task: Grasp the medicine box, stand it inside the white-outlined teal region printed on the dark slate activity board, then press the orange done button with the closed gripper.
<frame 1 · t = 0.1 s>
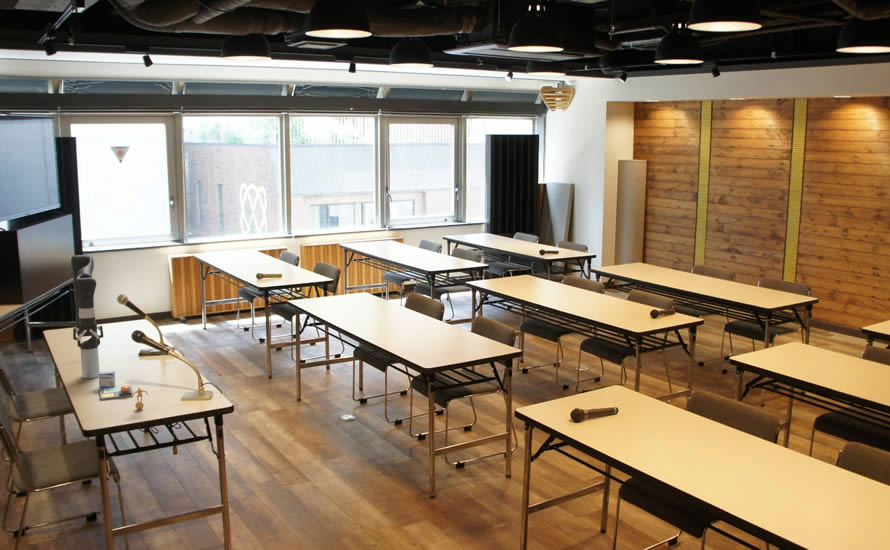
hand: (89, 346, 404), 29 cm above the table, fingers open, 8 cm apart
medicine box: (107, 387, 430), on the table
activity board: (116, 393, 420), on the table
done button: (125, 388, 417), point 4 cm above the table, slide at 0.0 cm
figurine: (140, 410, 396), on the table
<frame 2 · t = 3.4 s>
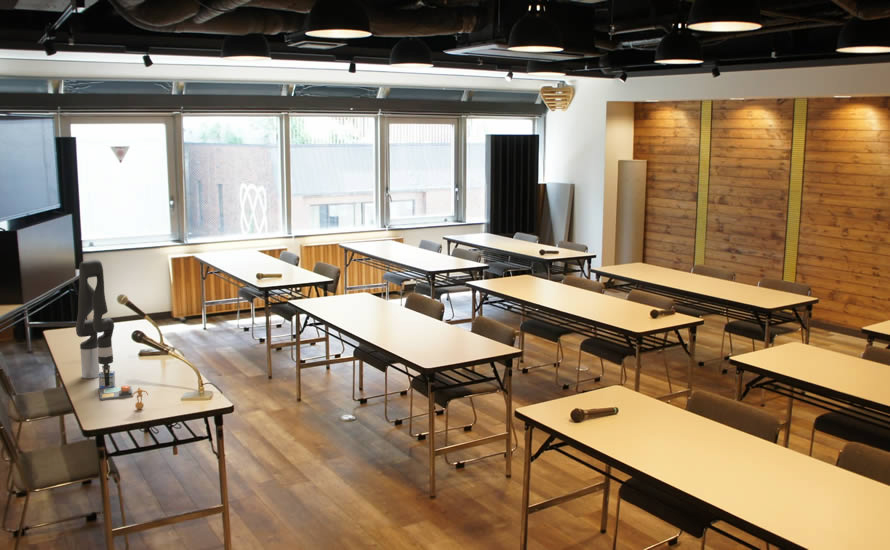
hand: (107, 384, 430), 2 cm above the table, fingers closed on medicine box, 5 cm apart
medicine box: (107, 387, 430), on the table, touching gripper
everything else where it was.
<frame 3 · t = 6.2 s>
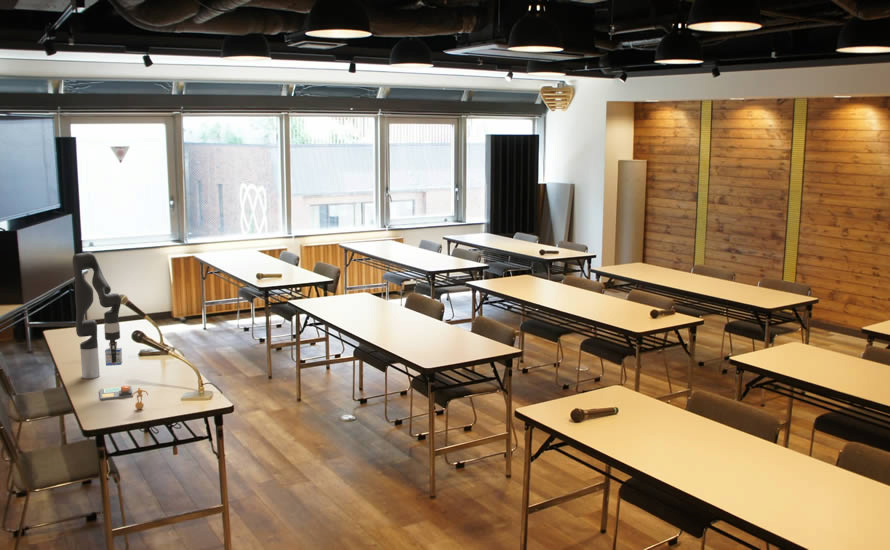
hand: (113, 360, 420), 17 cm above the table, fingers closed on medicine box, 5 cm apart
medicine box: (114, 364, 421), point 15 cm above the table, touching gripper
everything else where it was.
when the fingers open (4 cm above the table, at t = 9.0 s): medicine box drops 1 cm, resting on activity board.
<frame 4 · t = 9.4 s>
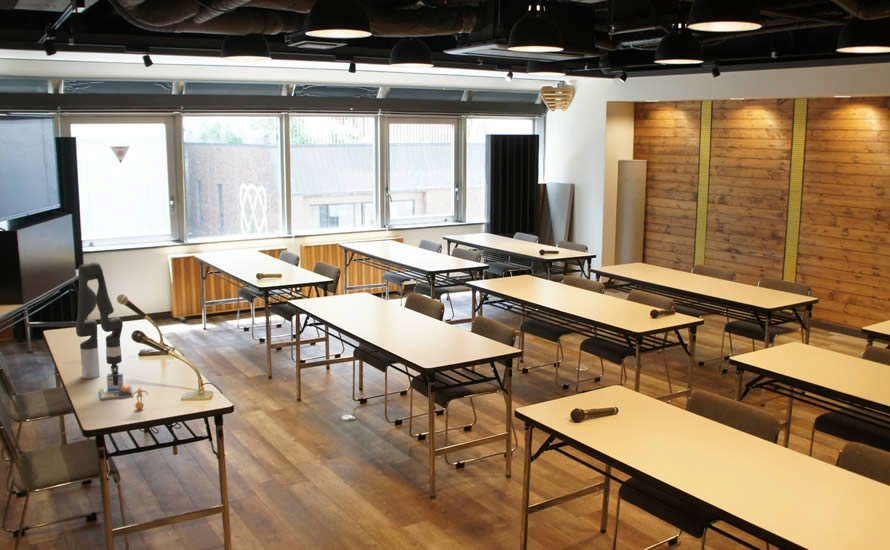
hand: (115, 383, 423), 5 cm above the table, fingers open, 8 cm apart
medicine box: (115, 389, 424), point 1 cm above the table, touching activity board
everything else where it was.
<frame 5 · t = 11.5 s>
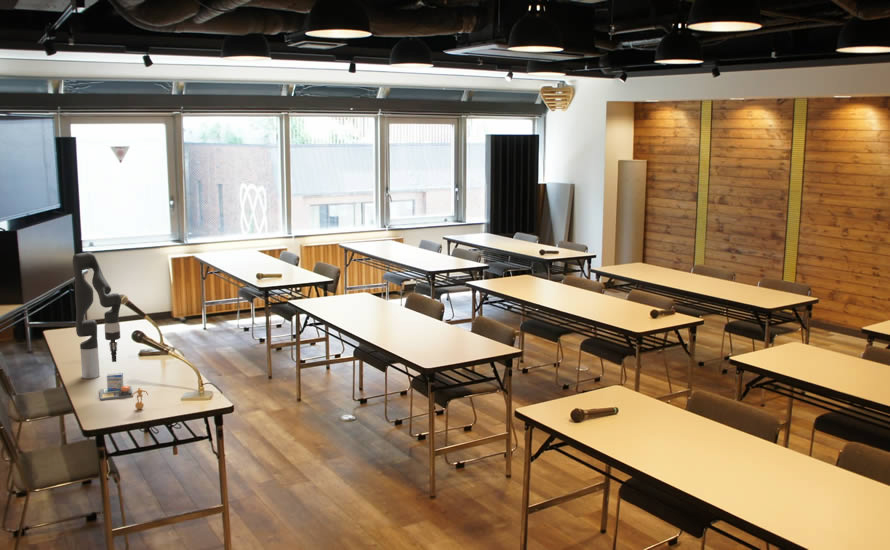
hand: (114, 361, 420), 17 cm above the table, fingers closed
nothing on the table moved.
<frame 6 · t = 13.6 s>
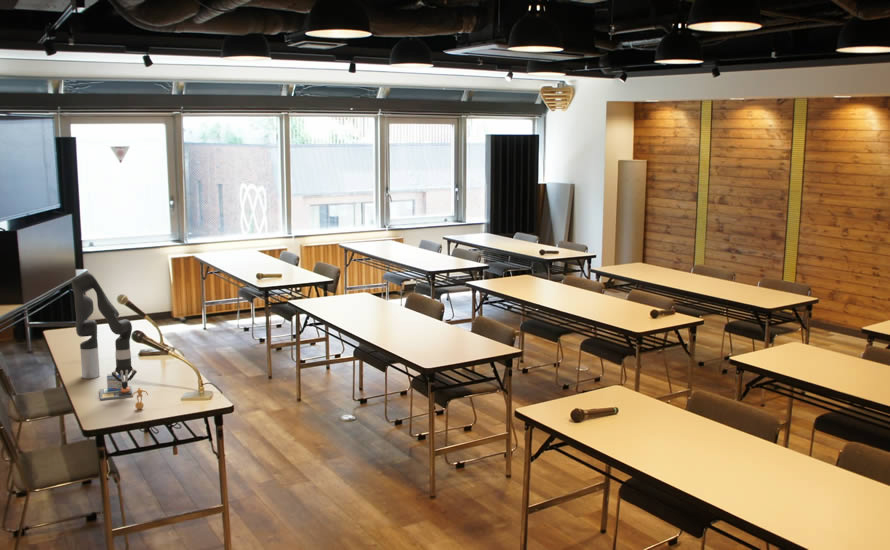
hand: (125, 388, 417), 4 cm above the table, fingers closed
done button: (125, 389, 417), point 3 cm above the table, slide at 0.6 cm, touching gripper
everything else where it was.
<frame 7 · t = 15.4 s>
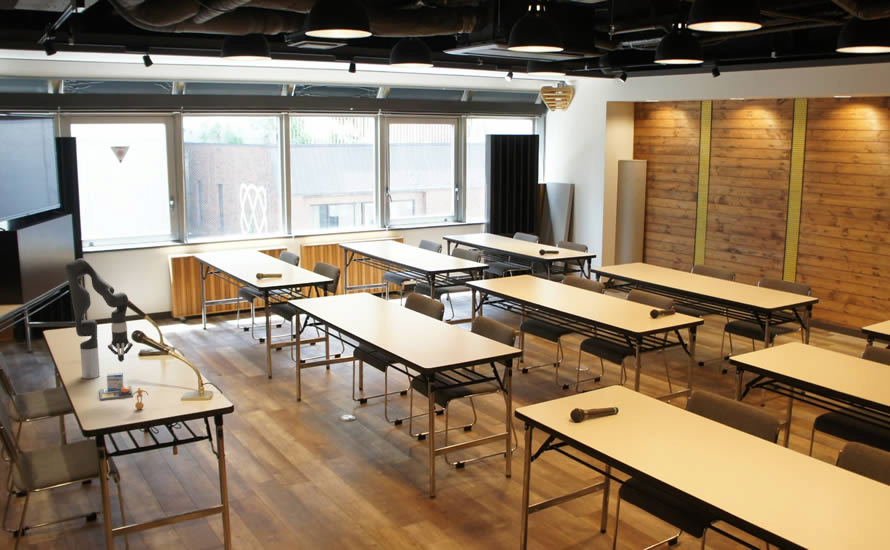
hand: (121, 361, 418), 18 cm above the table, fingers closed
done button: (125, 389, 417), point 3 cm above the table, slide at 0.6 cm
everything else where it was.
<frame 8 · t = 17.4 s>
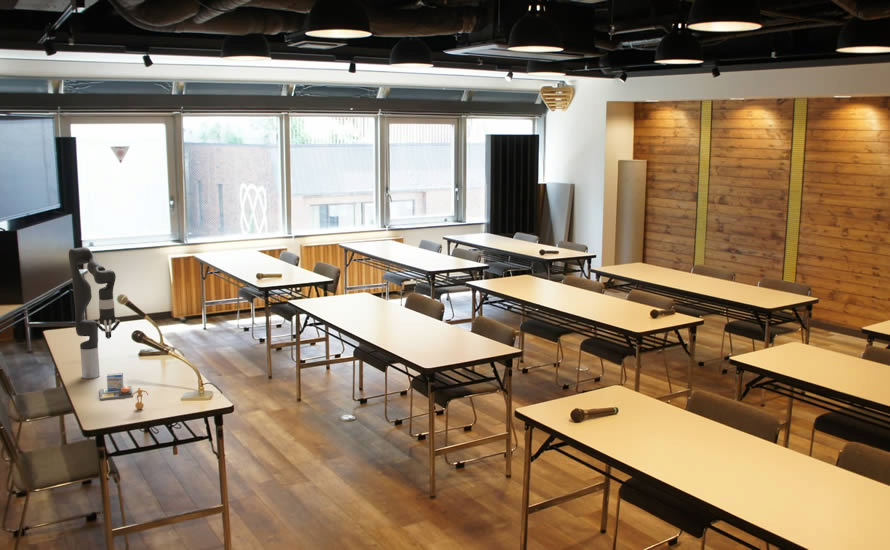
hand: (108, 338, 422), 29 cm above the table, fingers closed
nothing on the table moved.
at the end: medicine box inside the target area on the activity board (0.4 cm from its centre), point 0.9 cm above the activity board's base; medicine box tilted 0°; done button slide at 0.6 cm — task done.
